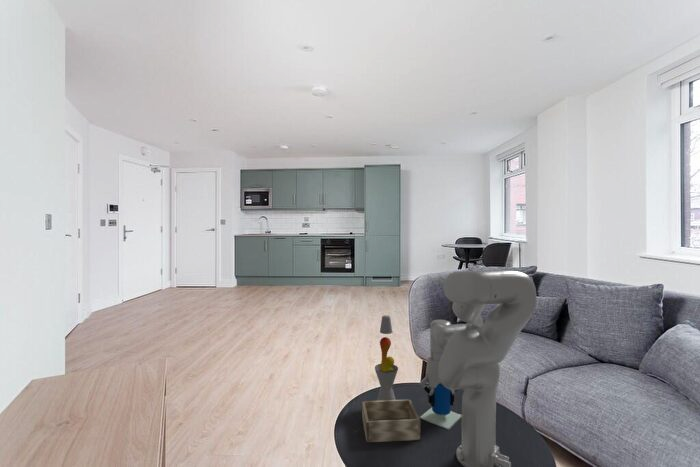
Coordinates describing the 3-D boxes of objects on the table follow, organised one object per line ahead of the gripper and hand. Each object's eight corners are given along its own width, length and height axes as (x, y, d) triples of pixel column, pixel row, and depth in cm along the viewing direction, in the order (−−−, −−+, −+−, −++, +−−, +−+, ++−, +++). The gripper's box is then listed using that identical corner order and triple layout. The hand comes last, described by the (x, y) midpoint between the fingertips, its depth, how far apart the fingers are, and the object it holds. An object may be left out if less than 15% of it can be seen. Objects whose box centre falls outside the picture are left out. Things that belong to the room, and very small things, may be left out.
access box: (410, 417, 127) (410, 399, 126) (420, 439, 113) (420, 419, 113) (362, 419, 125) (362, 401, 125) (366, 442, 112) (366, 422, 112)
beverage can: (448, 408, 129) (448, 376, 129) (452, 417, 123) (451, 383, 122) (430, 407, 130) (430, 375, 129) (433, 416, 123) (433, 383, 123)
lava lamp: (381, 414, 128) (381, 320, 128) (370, 403, 137) (370, 314, 136) (402, 409, 132) (402, 317, 131) (390, 398, 140) (390, 312, 140)
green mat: (461, 416, 127) (461, 415, 127) (448, 429, 118) (448, 428, 118) (434, 406, 134) (434, 405, 134) (419, 418, 126) (419, 417, 126)
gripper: (460, 350, 130) (460, 398, 130) (414, 352, 129) (414, 400, 129) (468, 358, 123) (468, 408, 123) (420, 359, 121) (420, 410, 122)
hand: (441, 403), depth 126 cm, fingers closed on beverage can, 6 cm apart
